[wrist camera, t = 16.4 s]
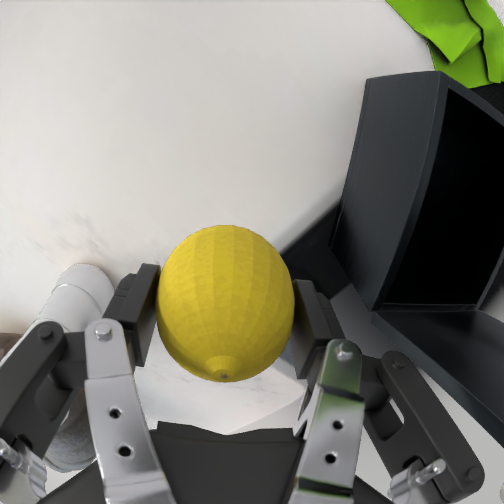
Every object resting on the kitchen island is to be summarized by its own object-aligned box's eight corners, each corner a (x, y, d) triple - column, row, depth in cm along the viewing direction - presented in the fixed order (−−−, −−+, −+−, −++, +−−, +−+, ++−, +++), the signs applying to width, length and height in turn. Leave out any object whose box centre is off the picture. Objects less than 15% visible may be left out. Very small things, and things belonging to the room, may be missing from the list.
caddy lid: (568, 486, 1) (480, 559, 2) (611, 389, 2) (573, 452, 3) (373, 311, 17) (353, 376, 18) (480, 310, 18) (462, 360, 19)
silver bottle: (61, 286, 26) (-25, 434, 8) (79, 242, 24) (-40, 409, 6) (107, 317, 28) (47, 479, 11) (131, 278, 26) (55, 473, 8)
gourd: (106, 441, 40) (77, 507, 23) (8, 372, 36) (-34, 422, 20) (133, 373, 33) (82, 476, 16) (3, 278, 30) (-73, 332, 13)
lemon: (297, 261, 16) (340, 381, 8) (216, 307, 17) (211, 429, 10) (239, 178, 13) (248, 269, 6) (153, 240, 14) (99, 356, 7)
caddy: (366, 78, 19) (440, 69, 10) (465, 125, 20) (536, 146, 12) (327, 245, 26) (369, 312, 17) (425, 258, 27) (476, 311, 19)
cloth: (517, 96, 18) (530, 98, 16) (391, 95, 19) (406, 95, 17) (472, -42, 8) (483, -45, 6) (321, -80, 10) (328, -91, 8)
